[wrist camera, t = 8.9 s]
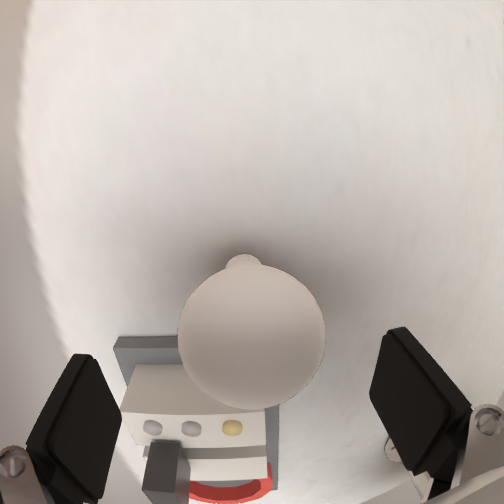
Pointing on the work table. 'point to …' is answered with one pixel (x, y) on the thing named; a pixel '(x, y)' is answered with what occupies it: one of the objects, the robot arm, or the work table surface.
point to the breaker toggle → (167, 474)
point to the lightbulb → (251, 335)
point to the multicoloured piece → (197, 424)
